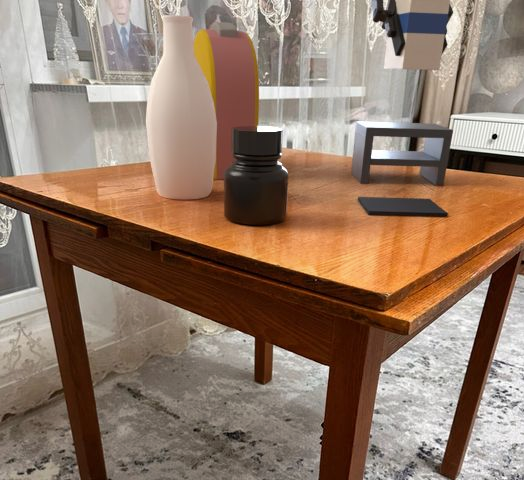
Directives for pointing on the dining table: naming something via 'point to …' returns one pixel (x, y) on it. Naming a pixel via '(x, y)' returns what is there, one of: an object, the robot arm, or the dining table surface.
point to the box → (419, 34)
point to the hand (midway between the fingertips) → (421, 50)
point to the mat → (401, 207)
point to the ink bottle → (256, 177)
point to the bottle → (181, 117)
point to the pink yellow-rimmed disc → (229, 83)
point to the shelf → (428, 160)
